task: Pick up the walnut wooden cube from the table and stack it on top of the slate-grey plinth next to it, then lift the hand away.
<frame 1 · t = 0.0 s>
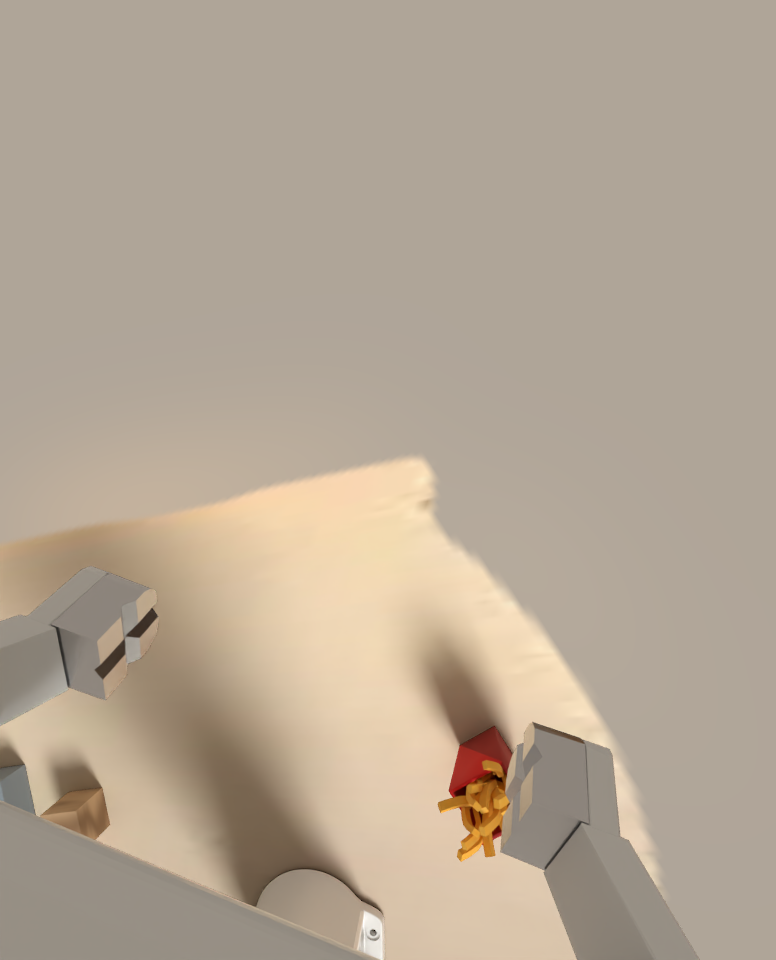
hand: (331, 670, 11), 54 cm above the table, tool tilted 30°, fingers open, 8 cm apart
french fries: (478, 747, 66), on the table
walnut cube: (89, 807, 73), on the table
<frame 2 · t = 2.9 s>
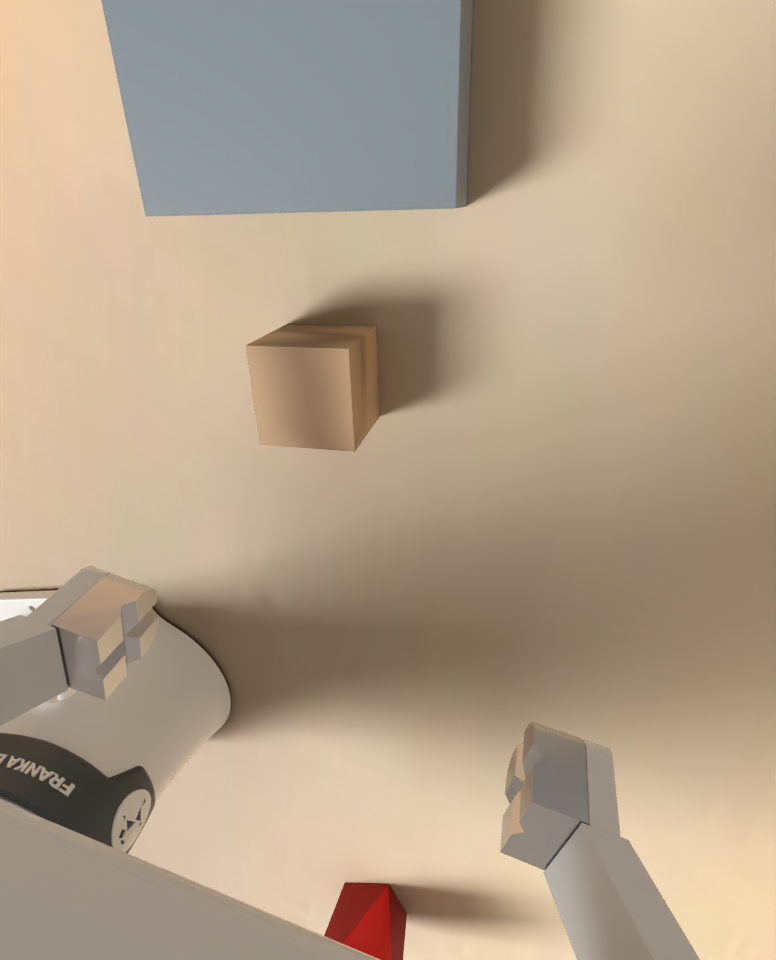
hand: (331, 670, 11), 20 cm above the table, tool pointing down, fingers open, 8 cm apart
french fries: (382, 891, 54), on the table
slate plinth: (308, 28, 24), on the table
walnut cube: (334, 370, 31), on the table
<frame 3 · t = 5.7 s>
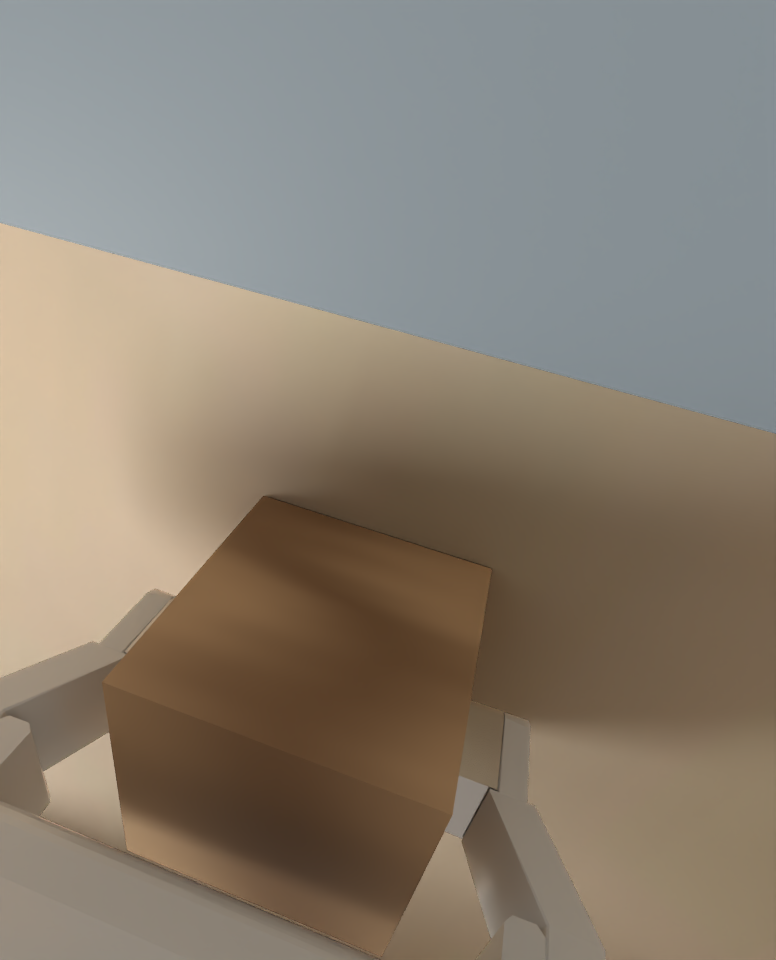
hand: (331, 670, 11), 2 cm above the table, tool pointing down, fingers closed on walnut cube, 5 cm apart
walnut cube: (356, 614, 13), on the table, touching gripper
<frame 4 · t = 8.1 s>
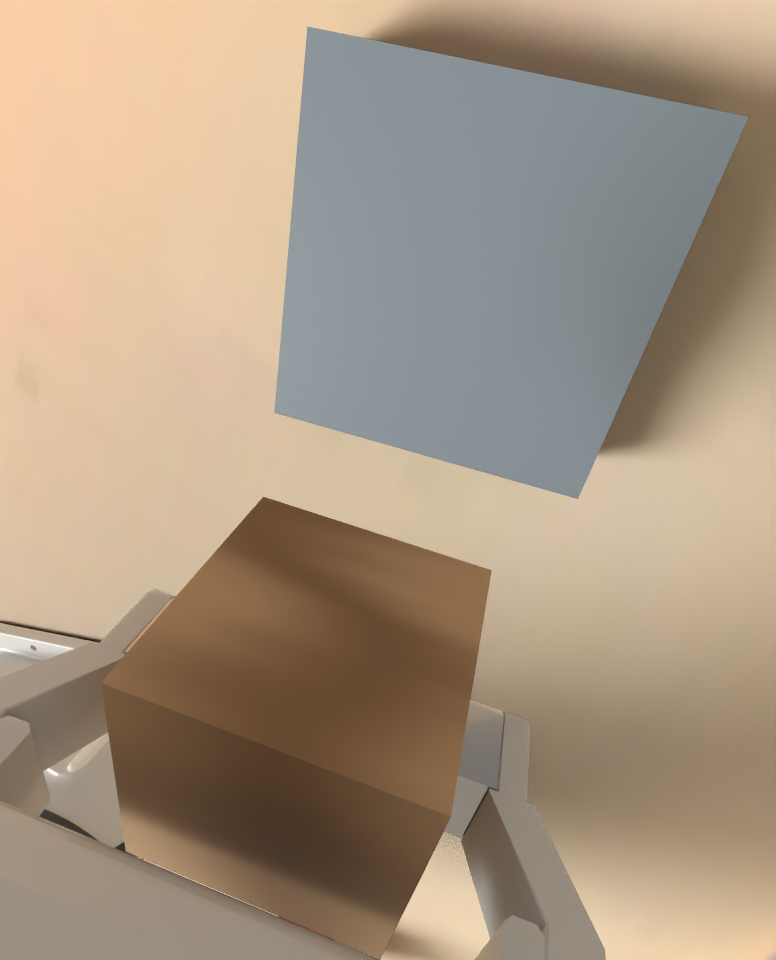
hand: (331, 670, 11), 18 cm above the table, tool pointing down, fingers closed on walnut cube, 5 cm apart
slate plinth: (472, 277, 24), on the table
walnut cube: (355, 616, 13), point 17 cm above the table, touching gripper
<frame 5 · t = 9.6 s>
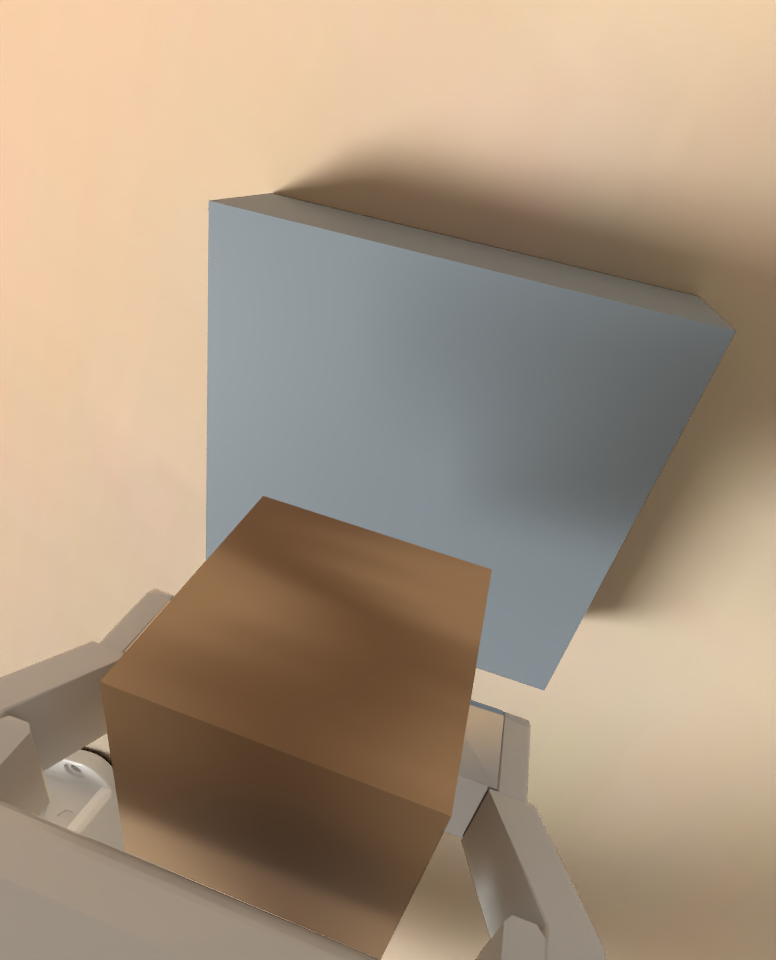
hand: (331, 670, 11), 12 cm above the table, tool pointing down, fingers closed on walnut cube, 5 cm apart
slate plinth: (427, 434, 21), on the table
walnut cube: (355, 615, 13), point 10 cm above the table, touching gripper
when the fingers open (7 cm above the table, at t = 10.8 s): walnut cube drops 1 cm, resting on slate plinth.
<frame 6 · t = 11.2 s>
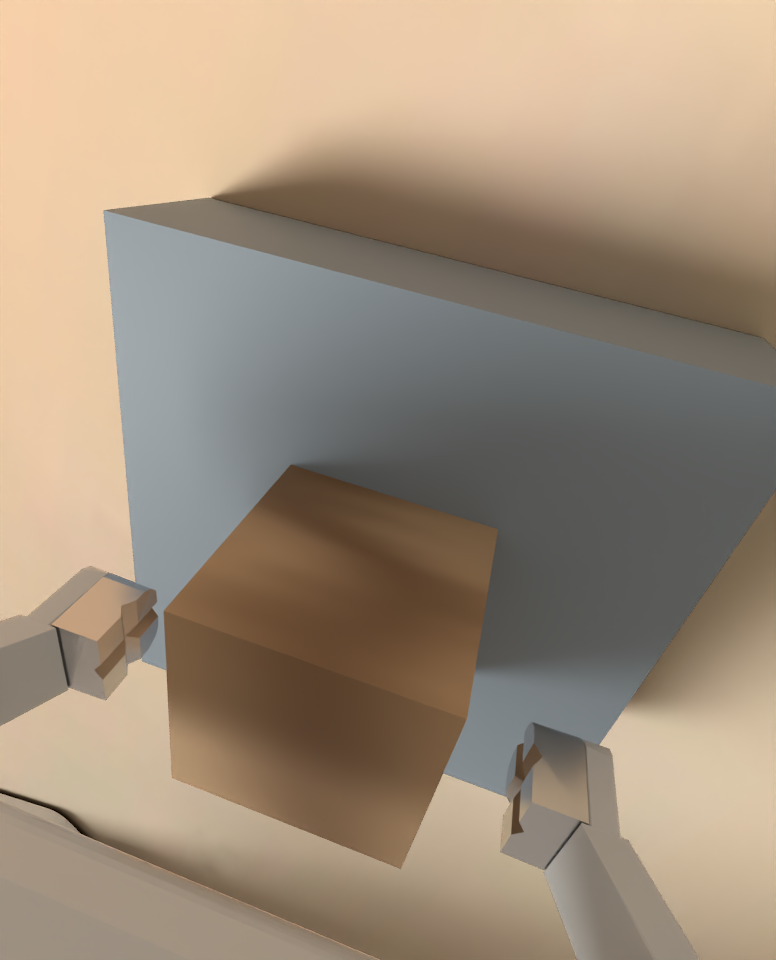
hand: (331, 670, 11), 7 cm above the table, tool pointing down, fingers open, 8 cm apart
slate plinth: (409, 494, 17), on the table
walnut cube: (373, 575, 14), point 4 cm above the table, touching slate plinth
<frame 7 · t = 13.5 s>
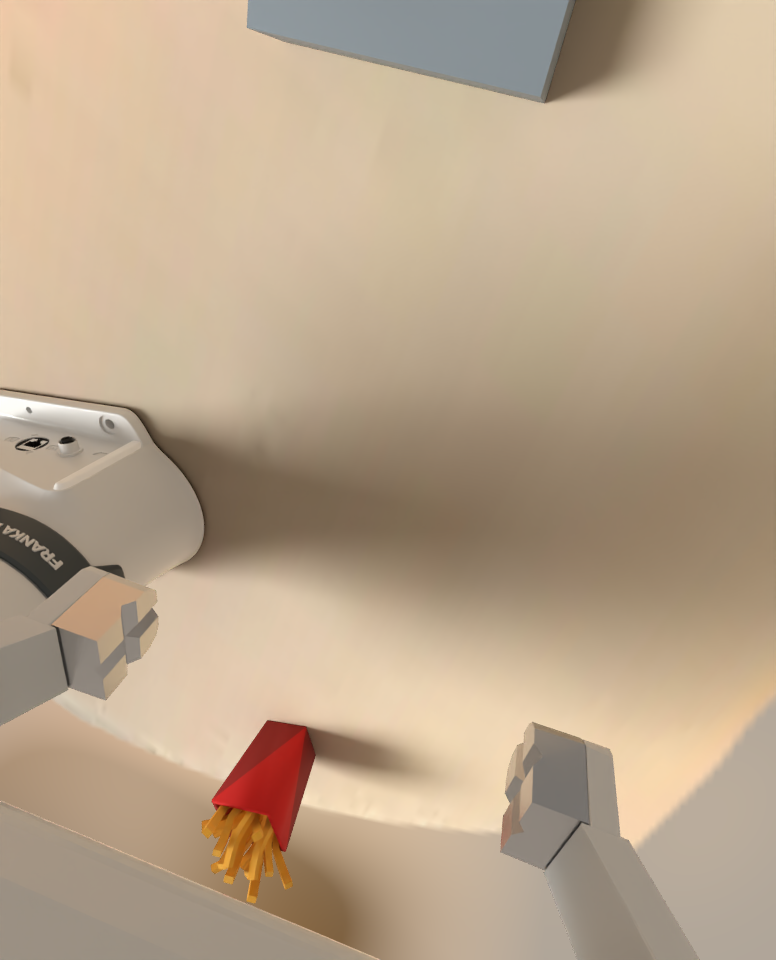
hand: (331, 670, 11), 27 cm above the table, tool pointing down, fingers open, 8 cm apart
french fries: (299, 733, 61), on the table
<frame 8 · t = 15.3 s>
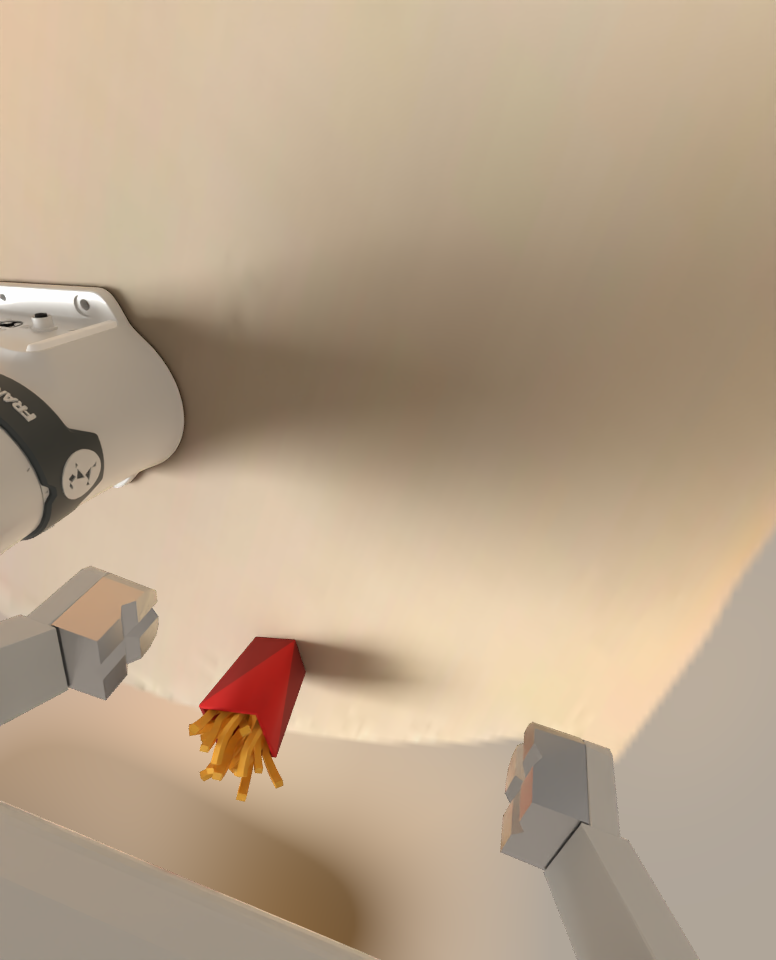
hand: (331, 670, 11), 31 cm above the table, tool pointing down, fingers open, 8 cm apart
french fries: (288, 648, 60), on the table
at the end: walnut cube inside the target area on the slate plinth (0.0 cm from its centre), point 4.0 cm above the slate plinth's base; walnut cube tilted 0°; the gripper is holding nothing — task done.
